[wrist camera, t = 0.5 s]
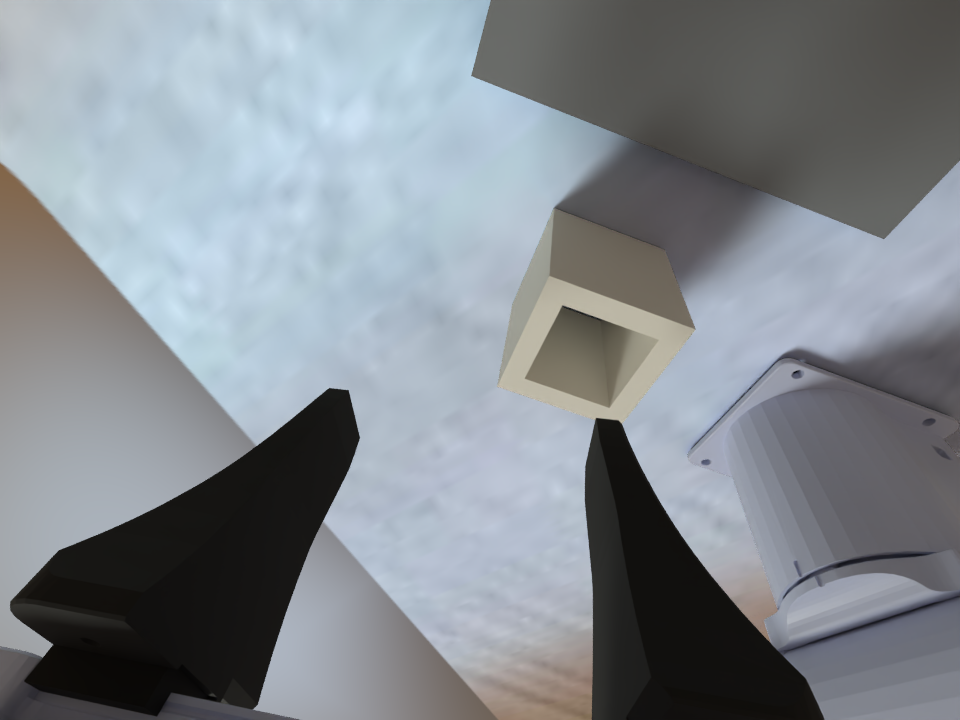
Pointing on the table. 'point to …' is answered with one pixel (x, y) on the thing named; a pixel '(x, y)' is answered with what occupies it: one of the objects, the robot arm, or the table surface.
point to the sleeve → (593, 320)
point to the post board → (754, 89)
